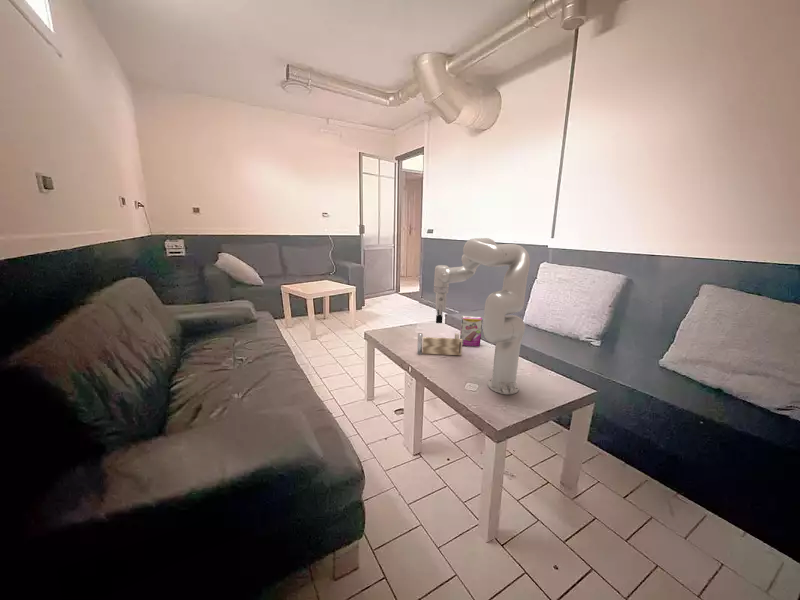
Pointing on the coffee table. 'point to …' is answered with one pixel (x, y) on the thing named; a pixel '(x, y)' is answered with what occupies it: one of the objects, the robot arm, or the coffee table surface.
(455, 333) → the post
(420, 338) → the hinge post
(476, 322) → the candy bar box
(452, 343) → the gate
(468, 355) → the coffee table surface
